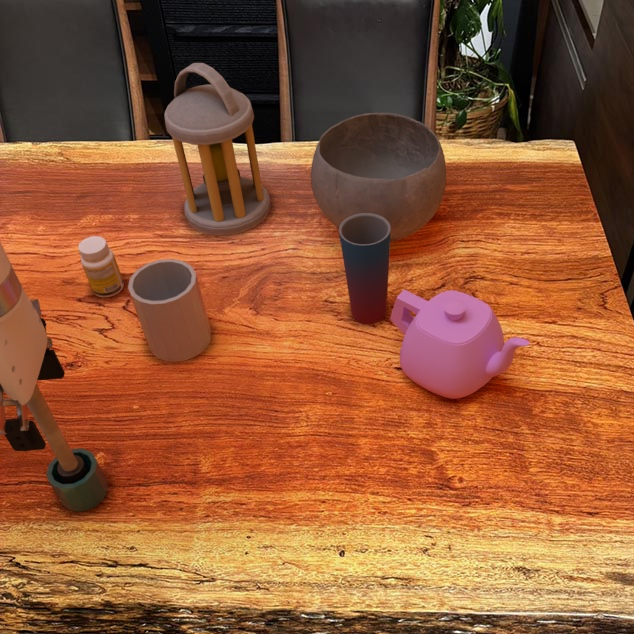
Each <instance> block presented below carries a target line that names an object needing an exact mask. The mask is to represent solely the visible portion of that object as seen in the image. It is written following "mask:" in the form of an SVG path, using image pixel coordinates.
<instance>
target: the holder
mask: <svg viewBox="0 0 634 634" xmlns="http://www.w3.org/2000/svg"><path fill="white" fill-rule="evenodd" d="M71 450H72V452H73V454H74V455H77V456H79V457H81V458H82V459H83V461H84V463H85V465H86V467H87V469H88V470H89V473H88V474H87V475H86V476H85V477H84V478H83V479H81V480H79V481H77V482H75V483H73V484H65V483H64V482H63V480H62V478H61V476H60V475H59V473H58V471H57V467H58V464H59V461H58V460H57V458H56V456H55V457H54V458H53V459H52V461H50V463H49V464H48V467H47V470H46V478H47V480H48V482H49V484H50V486H51V488H52V489H53V491H54V492H55V494H56V496H57V498H58V500H59V501H60V503H61V505H62V506H63V507H65V508H66V509H67V510H69V511H71V512H76V513H77V512H87V511H89V510H91V509H95V507H97V506H98V505H100V504H101V503H102V501H104V499H105V498H106V496H107V494H108V491H109V483H108V480H107V478H106V476H105V474H104V472H103V470H102V468H101V466H100V464H99V462H98V460H97V459H96V456H95V455H94V453H93V452H92V451H90V450H87V449H85V448H83V447H82V448H71Z"/></svg>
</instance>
